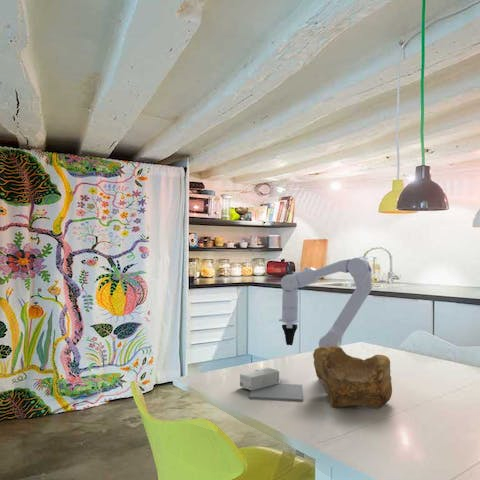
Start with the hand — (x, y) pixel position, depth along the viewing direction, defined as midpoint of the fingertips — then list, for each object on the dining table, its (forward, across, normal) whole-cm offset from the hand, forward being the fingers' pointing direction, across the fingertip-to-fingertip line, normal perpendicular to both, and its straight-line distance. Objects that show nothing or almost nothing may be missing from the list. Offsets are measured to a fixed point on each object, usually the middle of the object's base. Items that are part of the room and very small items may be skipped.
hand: (289, 344), depth 149 cm
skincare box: (+8, +13, -5) cm, 16 cm away
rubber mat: (+10, +22, -4) cm, 24 cm away
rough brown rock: (+10, +28, +18) cm, 35 cm away
